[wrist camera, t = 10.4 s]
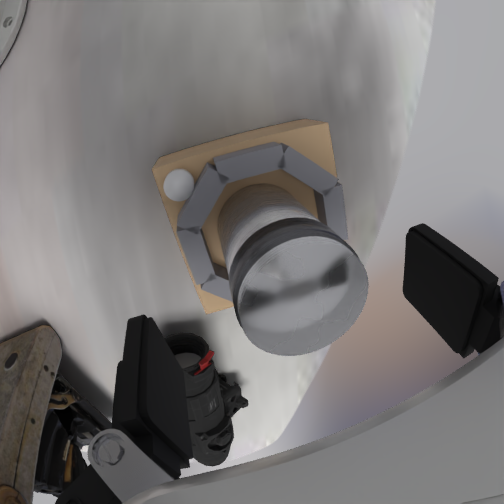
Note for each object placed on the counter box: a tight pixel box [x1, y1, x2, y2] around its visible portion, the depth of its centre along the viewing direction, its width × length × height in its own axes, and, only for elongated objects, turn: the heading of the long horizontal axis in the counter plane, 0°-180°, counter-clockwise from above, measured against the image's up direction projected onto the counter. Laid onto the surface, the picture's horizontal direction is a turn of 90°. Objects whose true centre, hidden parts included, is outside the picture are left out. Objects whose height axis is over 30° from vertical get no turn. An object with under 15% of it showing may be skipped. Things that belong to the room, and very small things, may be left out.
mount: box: [152, 119, 348, 314], centre depth 19 cm, size 10×10×6 cm
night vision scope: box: [164, 333, 248, 466], centre depth 26 cm, size 8×18×10 cm
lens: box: [217, 183, 368, 356], centre depth 15 cm, size 5×5×8 cm
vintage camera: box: [0, 325, 112, 504], centre depth 18 cm, size 10×16×20 cm, turn 19°
